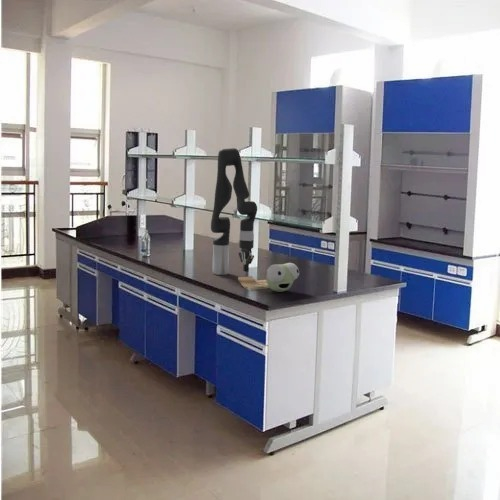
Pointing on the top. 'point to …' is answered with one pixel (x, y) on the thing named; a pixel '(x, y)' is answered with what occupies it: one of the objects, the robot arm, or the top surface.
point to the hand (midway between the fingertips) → (245, 271)
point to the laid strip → (257, 287)
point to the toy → (281, 276)
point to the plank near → (247, 281)
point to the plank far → (261, 282)
